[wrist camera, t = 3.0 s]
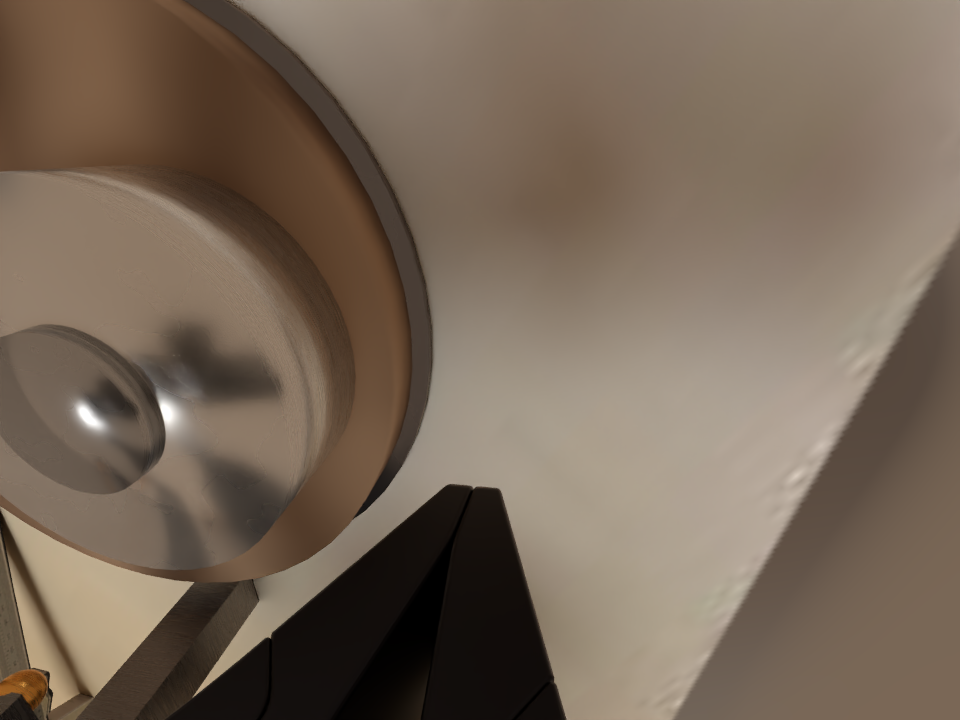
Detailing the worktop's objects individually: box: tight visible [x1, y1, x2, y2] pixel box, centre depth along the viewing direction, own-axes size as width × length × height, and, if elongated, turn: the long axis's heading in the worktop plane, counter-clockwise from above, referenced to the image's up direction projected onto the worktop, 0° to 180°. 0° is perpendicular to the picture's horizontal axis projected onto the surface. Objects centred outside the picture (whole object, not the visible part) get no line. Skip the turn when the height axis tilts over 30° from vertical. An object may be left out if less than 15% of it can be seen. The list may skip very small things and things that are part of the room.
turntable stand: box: [0, 0, 432, 720], centre depth 14 cm, size 21×24×9 cm
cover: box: [0, 164, 356, 570], centre depth 12 cm, size 10×10×4 cm
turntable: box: [0, 0, 412, 583], centre depth 14 cm, size 20×20×6 cm
